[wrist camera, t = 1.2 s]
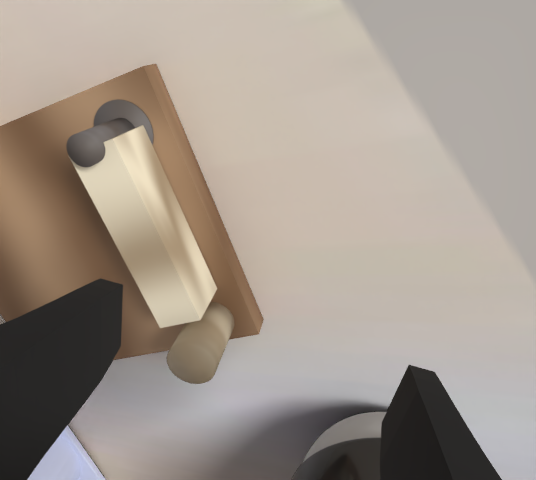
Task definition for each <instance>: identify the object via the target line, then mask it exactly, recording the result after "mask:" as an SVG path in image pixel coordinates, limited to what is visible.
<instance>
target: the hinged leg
mask: <svg viewBox="0 0 536 480" xmlns="http://www.w3.org/2000/svg"><path fill="white" fill-rule="evenodd" d="M66 148H67V153H68V156H69V158H70V159H71V161H72V163H73V165H74V167H75V169H76V171H77V173H78V175H79V176H80V178H81V180H82V182H83V184H84V186H85V188H86V190H87V191H88V193H89V195H90V197H91V199H92V201H93V203H94V205H95V206H96V208H97V210H98V212H99V214H100V216H101V218H102V220H103V222H104V223H105V225H106V227H107V229H108V231H109V233H110V235H111V237H112V238H113V240H114V242H115V244H116V246H117V248H118V250H119V252H120V254H121V255H122V257H123V259H124V261H125V263H126V265H127V267H128V269H129V270H130V272H131V274H132V276H133V278H134V280H135V282H136V284H137V285H138V287H139V289H140V291H141V293H142V295H143V297H144V299H145V301H146V302H147V304H148V306H149V308H150V310H151V312H152V314H153V316H154V317H155V319H156V321H157V323H158V325H159V327H160V328H164V327H169V326H174V325H179V324H184V323H189V322H194V321H199V320H201V318H202V316H203V315H204V313H205V311H206V309H207V307H208V305H209V303H210V301H211V300H212V298H213V296H214V294H215V292H216V290H217V287H216V285H215V282H214V280H213V278H212V276H211V274H210V271H209V269H208V267H207V265H206V263H205V260H204V258H203V256H202V254H201V251H200V249H199V247H198V245H197V243H196V240H195V238H194V236H193V234H192V232H191V229H190V227H189V225H188V223H187V221H186V218H185V216H184V214H183V212H182V210H181V207H180V205H179V203H178V201H177V199H176V196H175V194H174V192H173V190H172V187H171V185H170V183H169V181H168V179H167V176H166V174H165V172H164V170H163V168H162V165H161V163H160V161H159V159H158V157H157V154H156V152H155V150H154V148H153V146H152V143H151V141H150V139H149V137H148V135H147V132H146V130H145V128H144V126H143V125H142V126H139V127H136V128H135V127H134V125H133V124H132V123H131V122H130V121H129V120H127V119H125V118H116V119H113V120H111V121H108V122H105V123H103V124H100V125H97V126H95V127H92V128H89V129H87V130H84V131H81V132H79V133H76V134H74V135H72V136H70V137H69V139H68V141H67V144H66Z"/></svg>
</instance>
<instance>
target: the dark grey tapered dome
mask: <svg viewBox="0 0 536 480" xmlns="http://www.w3.org/2000/svg"><path fill="white" fill-rule="evenodd" d="M385 414H386V412H369V413H362V414H357V415H354V416H351V417H348V418H346V419H343V420H341V421H339V422H338V423H336V424H334V425H333V426H331V427H330V428H329V429H327V430H326V431H325V432H324V433H323V434H322V435H321V436H320V437H319V438H318V439H317V440H316V441H315V443H314V444H313V445H312V447H311V448H310V450H309V451H308V453H307V455H306V457H305V459H304V461H303V463H302V464H301V465H300V466H299V468H298V469H297V470H296V472H295V474H294V475H293V477H292V480H381V476H380V444H381V426H382V421H383V418H384V416H385Z"/></svg>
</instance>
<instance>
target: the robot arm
mask: <svg viewBox="0 0 536 480" xmlns="http://www.w3.org/2000/svg"><path fill="white" fill-rule="evenodd" d="M122 301H123V284H119V283H115V282H112V281H108V280H105V279H101V278H100V279H98V280H95V281H93V282H91V283H89V284H87V285H84V286H82V287H80V288H78V289H76V290H74V291H72V292H70V293H68V294H66V295H64V296H62V297H60V298H58V299H56V300H54V301H51V302H49V303H47V304H45V305H43V306H41V307H39V308H37V309H34V310H32V311H30V312H28V313H26V314H24V315H22V316H20V317H17V318H15V319H13V320H10V321H8V322H6V323H3V324H1V325H0V480H106V479H105V478H104V476H103V475H102V474H101V472H100V471H99V469H98V468H97V466H96V465H95V464H94V462H93V461H92V459H91V458H90V456H89V455H88V454H87V452H86V451H85V449H84V448H83V446H82V445H81V444H80V442H79V441H78V439H77V438H76V436H75V435H74V434H73V432H72V431H71V429H70V428H69V426H68V424H69V423H70V421H71V420H72V419H73V417H74V416H75V415H76V413H77V412H78V411H79V409H80V408H81V407H82V405H83V404H84V403H85V401H86V400H87V399H88V397H89V396H90V395H91V393H92V392H93V391H94V389H95V388H96V387H97V385H98V384H99V383H100V381H101V380H102V378H103V376H104V375H105V373H106V371H107V370H108V368H109V366H110V365H111V363H112V361H113V359H114V357H115V356H116V354H117V352H118V350H119V349H120V347H121V331H122ZM380 476H381V480H502V479H501V478H500V476H499V475H498V473H497V472H496V470H495V469H494V467H493V466H492V464H491V463H490V461H489V460H488V458H487V457H486V455H485V454H484V452H483V451H482V449H481V448H480V446H479V444H478V443H477V441H476V440H475V438H474V436H473V435H472V433H471V432H470V430H469V428H468V427H467V425H466V423H465V422H464V420H463V418H462V417H461V415H460V413H459V412H458V410H457V409H456V407H455V405H454V403H453V402H452V400H451V398H450V397H449V395H448V393H447V392H446V390H445V388H444V387H443V385H442V383H441V382H440V380H439V378H438V377H437V375H436V373H435V372H433V371H429V370H426V369H422V368H418V367H415V366H411V365H409V366H408V368H407V370H406V372H405V374H404V376H403V378H402V380H401V383H400V385H399V387H398V389H397V391H396V393H395V395H394V397H393V399H392V402H391V404H390V406H389V408H388V410H387V412H386V414H385V416H384V418H383V421H382V426H381V444H380Z"/></svg>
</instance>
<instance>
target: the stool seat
mask: <svg viewBox="0 0 536 480" xmlns="http://www.w3.org/2000/svg"><path fill="white" fill-rule="evenodd" d="M116 118H125V119H127V120H129V121H130V122H131V123H132V124H133V125H134V127H135V128H136V127H139V126H142V125H143V126H144V128H145V130H146V132H147V135H148V137H149V139H150V141H151V143H152V146H153V148H154V150H155V152H156V154H157V157H158V159H159V161H160V163H161V165H162V168H163V170H164V172H165V174H166V176H167V179H168V181H169V183H170V185H171V187H172V190H173V192H174V194H175V196H176V199H177V201H178V203H179V205H180V207H181V210H182V212H183V214H184V216H185V218H186V221H187V223H188V225H189V227H190V229H191V232H192V234H193V236H194V238H195V240H196V243H197V245H198V247H199V249H200V251H201V254H202V256H203V258H204V260H205V263H206V265H207V267H208V269H209V271H210V274H211V276H212V278H213V280H214V282H215V285H216V287H217V290H216V292H215V294H214V296H213V298H212V300H211V301H210V303H209V305H208V307H207V309H206V311H205V313H204V315H203V316H202V318H201V320H199V321H194V322H189V323H184V324H179V325H174V326H169V327H164V328H160V327H159V325H158V323H157V321H156V319H155V317H154V316H153V314H152V312H151V310H150V308H149V306H148V304H147V302H146V301H145V299H144V297H143V295H142V293H141V291H140V289H139V287H138V285H137V284H136V282H135V280H134V278H133V276H132V274H131V272H130V270H129V269H128V267H127V265H126V263H125V261H124V259H123V257H122V255H121V254H120V252H119V250H118V248H117V246H116V244H115V242H114V240H113V238H112V237H111V235H110V233H109V231H108V229H107V227H106V225H105V223H104V222H103V220H102V218H101V216H100V214H99V212H98V210H97V208H96V206H95V205H94V203H93V201H92V199H91V197H90V195H89V193H88V191H87V190H86V188H85V186H84V184H83V182H82V180H81V178H80V176H79V175H78V173H77V171H76V169H75V167H74V165H73V163H72V161H71V159H70V158H69V156H68V153H67V148H66V144H67V141H68V139H69V137H70V136H72V135H74V134H76V133H79V132H81V131H84V130H87V129H89V128H92V127H95V126H97V125H100V124H103V123H105V122H108V121H111V120H113V119H116ZM100 278H101V279H105V280H108V281H112V282H115V283H119V284H123V301H122V331H121V347H120V349H119V350H118V352H117V354H116V356H115V357H114V359H113V360H117V359H122V358H128V357H134V356H139V355H145V354H150V353H156V352H161V351H167V350H170V351H169V352H168V355H167V364H168V366H169V368H170V370H171V371H172V373H173V374H174V375H175V376H177V377H178V378H180V379H181V380H183V381H185V382H188V383H193V384H201V383H205V382H207V381H209V380H211V379H212V378H213V376H214V374H215V372H216V370H217V367H218V365H219V362H220V360H221V357H222V355H223V352H224V350H225V348H226V345H227V343H228V340H229V339H234V338H240V337H245V336H251V335H257V334H259V332H260V329H261V326H262V323H263V317H262V315H261V312H260V310H259V308H258V305H257V303H256V301H255V298H254V296H253V293H252V291H251V289H250V286H249V284H248V282H247V279H246V277H245V274H244V272H243V270H242V267H241V265H240V262H239V260H238V258H237V255H236V253H235V251H234V248H233V246H232V243H231V241H230V239H229V236H228V234H227V232H226V229H225V227H224V224H223V222H222V220H221V217H220V215H219V212H218V210H217V208H216V205H215V203H214V201H213V198H212V196H211V193H210V191H209V189H208V186H207V184H206V181H205V179H204V177H203V174H202V172H201V170H200V167H199V165H198V162H197V160H196V158H195V155H194V153H193V151H192V148H191V146H190V143H189V141H188V139H187V136H186V134H185V131H184V129H183V127H182V124H181V122H180V120H179V117H178V115H177V112H176V110H175V108H174V105H173V103H172V101H171V98H170V96H169V93H168V91H167V89H166V86H165V84H164V81H163V79H162V77H161V74H160V72H159V70H158V67H157V65H156V64H152V65H147V66H142V67H140V68H138V69H135V70H133V71H131V72H128V73H126V74H123V75H121V76H119V77H116V78H114V79H111V80H109V81H107V82H104V83H102V84H100V85H97V86H95V87H92V88H90V89H88V90H85V91H83V92H81V93H78V94H76V95H73V96H71V97H69V98H66V99H64V100H61V101H59V102H57V103H54V104H52V105H50V106H47V107H45V108H42V109H40V110H38V111H35V112H33V113H31V114H28V115H26V116H23V117H21V118H19V119H16V120H14V121H11V122H9V123H7V124H4V125H2V126H0V314H1V315H2V317H3V318H4V320H5V321H6V322H8V321H10V320H13V319H15V318H17V317H20V316H22V315H24V314H26V313H28V312H30V311H32V310H34V309H37V308H39V307H41V306H43V305H45V304H47V303H49V302H51V301H54V300H56V299H58V298H60V297H62V296H64V295H66V294H68V293H70V292H72V291H74V290H76V289H78V288H80V287H82V286H84V285H87V284H89V283H91V282H93V281H95V280H98V279H100Z"/></svg>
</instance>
